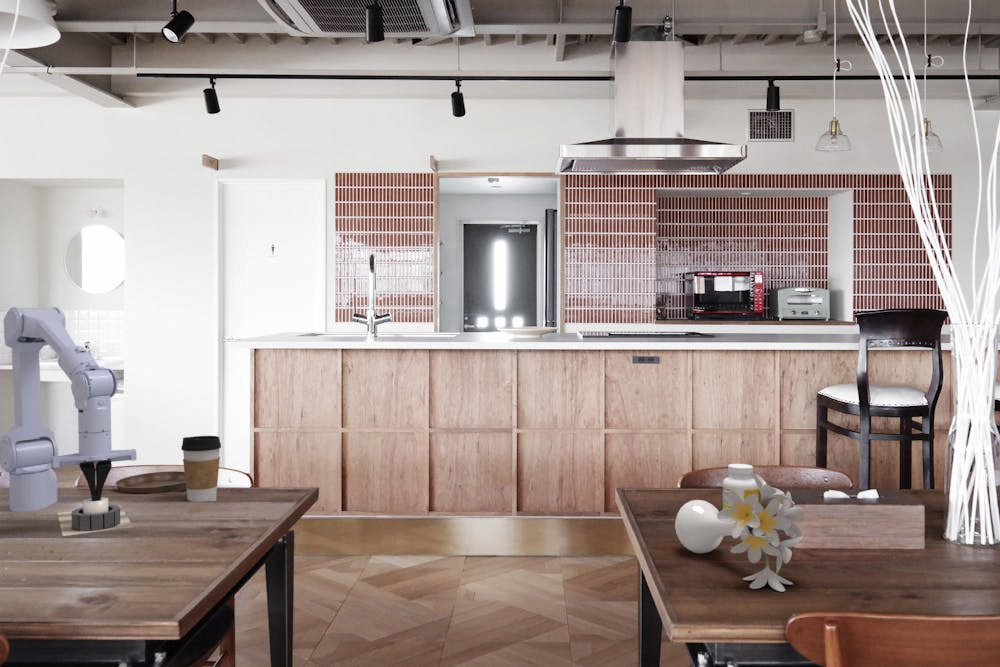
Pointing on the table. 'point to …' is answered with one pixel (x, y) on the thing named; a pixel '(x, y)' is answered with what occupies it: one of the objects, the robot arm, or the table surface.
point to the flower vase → (744, 529)
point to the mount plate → (66, 529)
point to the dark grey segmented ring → (95, 519)
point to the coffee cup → (201, 467)
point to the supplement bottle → (739, 483)
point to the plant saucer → (153, 482)
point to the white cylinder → (95, 506)
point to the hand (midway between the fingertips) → (96, 500)
